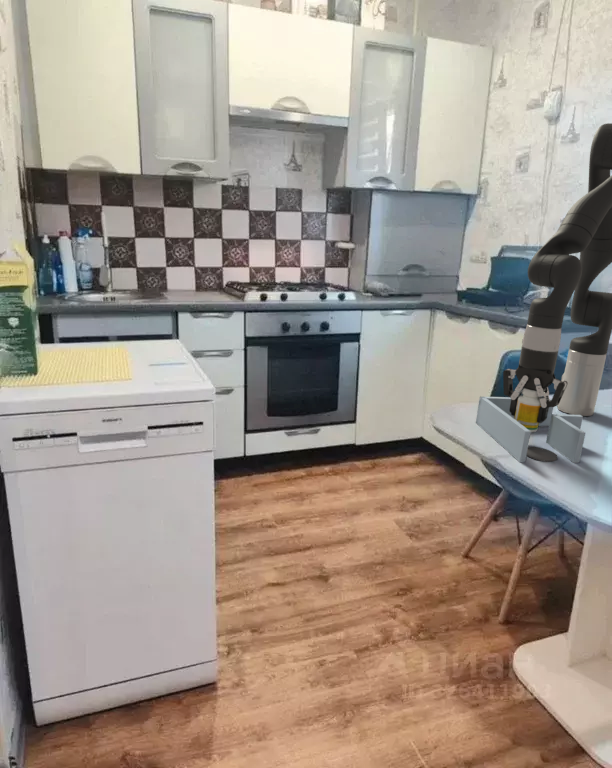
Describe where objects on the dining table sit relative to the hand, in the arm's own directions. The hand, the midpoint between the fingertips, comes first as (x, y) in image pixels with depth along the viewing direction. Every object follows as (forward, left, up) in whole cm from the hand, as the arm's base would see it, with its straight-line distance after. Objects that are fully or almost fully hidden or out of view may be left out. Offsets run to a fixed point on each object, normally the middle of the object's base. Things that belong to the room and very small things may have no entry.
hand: (526, 418), depth 124 cm
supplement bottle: (0, 0, -3) cm, 3 cm away
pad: (+7, +1, -6) cm, 9 cm away
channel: (-1, +4, -6) cm, 7 cm away
